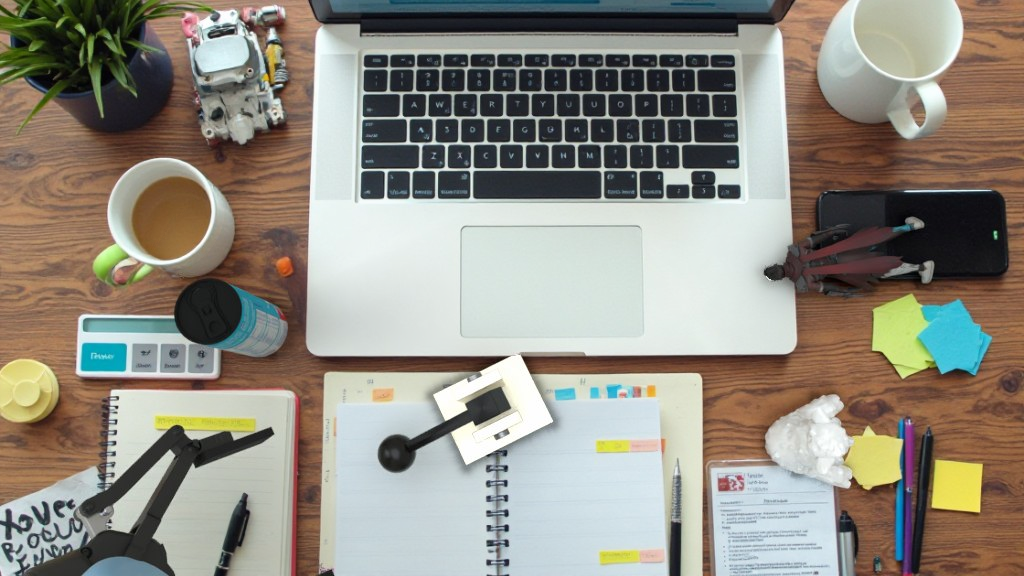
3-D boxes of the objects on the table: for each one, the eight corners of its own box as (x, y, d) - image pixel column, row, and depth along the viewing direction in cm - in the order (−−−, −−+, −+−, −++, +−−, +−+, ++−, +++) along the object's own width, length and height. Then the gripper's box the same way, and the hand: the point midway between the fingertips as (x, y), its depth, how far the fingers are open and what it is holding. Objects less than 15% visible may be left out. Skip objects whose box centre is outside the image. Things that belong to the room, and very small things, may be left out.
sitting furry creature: (849, 487, 79) (906, 499, 67) (765, 493, 79) (808, 505, 67) (836, 394, 80) (890, 389, 69) (753, 399, 80) (793, 396, 69)
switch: (401, 472, 74) (379, 483, 71) (386, 438, 75) (363, 447, 72) (518, 414, 69) (500, 422, 65) (500, 377, 69) (482, 384, 66)
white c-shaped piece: (466, 464, 80) (454, 475, 65) (434, 394, 81) (414, 389, 66) (553, 421, 80) (560, 422, 66) (519, 352, 82) (518, 338, 67)
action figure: (904, 219, 84) (745, 244, 83) (934, 199, 78) (763, 226, 77) (926, 289, 82) (763, 316, 81) (958, 274, 76) (783, 303, 75)
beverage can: (282, 295, 83) (231, 269, 68) (297, 347, 82) (248, 332, 67) (229, 313, 83) (166, 290, 68) (243, 365, 82) (182, 353, 67)
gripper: (-33, 473, 58) (227, 392, 74) (83, 802, 54) (331, 642, 70) (-15, 444, 53) (259, 364, 69) (114, 803, 49) (374, 631, 65)
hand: (296, 504), depth 69 cm, fingers open, 13 cm apart
